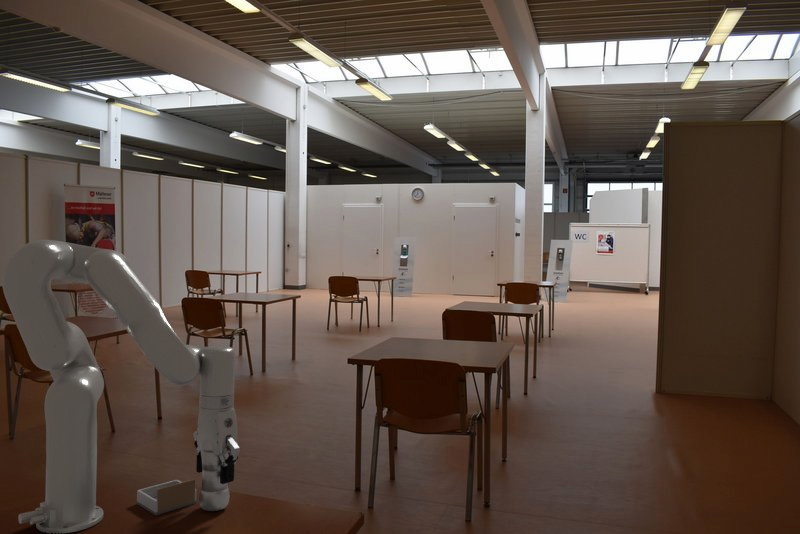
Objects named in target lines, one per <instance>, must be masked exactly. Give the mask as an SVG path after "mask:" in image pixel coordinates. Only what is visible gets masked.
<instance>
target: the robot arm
mask: <svg viewBox="0 0 800 534" xmlns="http://www.w3.org/2000/svg"><path fill="white" fill-rule="evenodd" d="M52 280H60V281H68V282H71V283H79V284H87V285H89V286H90V287H91V289H93V291H94V292H95V293H96V294H97V295H98V296H99V298H100V300H102V302H104V304H105V305H106V306H107V308H108V309H109V310H110V311H111V312H112V313H113V314H114V316H115V317H116V318H117V319H118V320H119V322H120V323H121V324H122V326H123V327H124V329H125V330H126V332H127V333H128V335H129V336H130V337H131V338H132V340H133V341H134V342H135V343H136V345H137V346H138V348H139V349H140V351H141V352H142V353H143V355H144V356H145V358H146V359H147V360H148V361H149V362H150V363H151V364H152V366H153V367H154V368H155V369H156V371H157V372H158V373H159V374H160V376H162V377H163V378H164V379H165V380H166V381H167V382H168V383H170V384H171V385H174V386H187V385H188V384H190V383H192V382H193V381H194V380H195V379H197V376H198V377H199V400H198V403H199V406H198V409H199V411H198V417H197V424H196V425H197V427H196V430H195V431H193V432H192V435H193V436H192V437H193V439H194V443H193V444H194V447H195V455H196V466H195V467H196V470H195V472H197V473H198V474H199V473H200V474H201V473H202V469H203V468H202V457H201V449H200V444H201V440H202V439H203V438H207V439H208V440H209V441H210V443H211V445H212V448H213V454H215V455H218V456H219V457H220V459H221V462H222V466H221V467H220V483H221V484H225V483H228V484H229V483H231V482H234V480H235V465H236V464H237V461H238V459H239V455H240V452H241V448H240V446H239V445H238V443H239V442H238V421H237V413H236V409H235V383H236V382H235V381H236V380H235V379H236V378H235V377H236V376H235V375H236V373H235V372H236V351H235V349H234V348H233V347H231V346H228V345H209V346H202V345H194V344H193V345H192V344H185V343H184V342H183V341H182V339H181V338H180V337H179V336H178V334H177V333H176V332H175V331H174V329H173V327H172V326H171V324H170V323H169V322H168V320H167V318H166V316H165V314H164V312H163V308H162V305H160V302H159V301H158V300H157V299H156V297H155V295H153V294H152V292H151V291H150V290H149V289H148V288H147V286H146V285H145V284H144V283H143V282H142V280H140V278H139V277H138V276H137V274H136V273H135V272H134V270H132V268H131V265H130V262H129V260H128V258H127V257H126V256H125V255H124V254H123V253H121V252H120V251H117V250H115V249H114V250H113V249H107V248H100V247H92V246H88V245H83V244H79V243H72V242H67V241H61V240H55V239H37V240H33V241H29V242H28V243H26V244H24V245H22V246H21V247H20V248H18V249H17V250H16V251H15V252H14V253H13V254H12V255H11V257H10V258H9V259H8V261H7V262H6V264H5V266H4V268H3V273H2V278H1V281H2V282H1V283H2V284H1V285H2V290H3V291H2V292H3V295H4V298H5V300H6V303H7V305H8V308H9V310H10V312H11V314H12V318H13V319H14V321H15V324H16V328H17V329H18V331H19V334H20V336H21V338H22V339H21V340H22V341H23V343H24V345H25V348H26V351H27V353H28V355H29V358H30V360H31V362H32V363H33V364H34V365H35V366H36V367H37V368H39V369H41V370H43V371H46V372H47V371H49V373H50V374H49V375H51V378H52V380H53V381H52V383H51V384H50V386H49V388H48V389H47V392H46V395H45V398H44V416H45V429H46V430H45V431H46V432H45V433H46V434H45V435H46V436H45V438H46V440H45V453H46V459H45V460H46V461H45V498H44V499H45V501H41V502H40V503H39V507H37V508H35V510H32V511H26V512H22V513H19V514H18V516H17V517H18V518H17V519H18V523H19V524H21V525H22V524H25V523H29V524H30V525H34V524H35V528H36V529H37V530H38V531H40V532H42V533H45V532H46V533H45V534H51V533H53V534H55V533H56V534H58V533H59V534H61V533H62V534H70V533H74V532H80V531H83V530H86V529H89V528H92V527H93V526H96V525H97V524H98V523H100V522H101V521H102V520H103V518H104V509H102V507H100V506H99V505H96V503H97V465H98V463H97V461H98V460H97V458H98V453H97V452H98V419H97V414H98V413H97V410H98V409H97V407H98V402H99V401H100V398H101V396H102V395H103V393H104V389H105V380H104V377H103V374H102V371H101V369H100V366H99V364H98V362H97V359H96V357H95V355H94V352H93V350H92V348H91V346H90V343H89V341H88V339H87V336H86V334H85V333H84V332H83V330H82V329H81V328H80V327H79V326H78V325H76V324H75V323H73V322H70V321H67V320H66V317H65V316H64V313H63V312H62V309H61V306H60V303H59V301H58V299H57V297H56V296H55V294H54V291H53V290H52V287H51V283H52ZM224 449H227V451H222V450H224ZM225 455H229V456H228V458H227V459H226V458H225Z"/></svg>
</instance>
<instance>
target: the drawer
mask: <svg viewBox="0 0 800 534" xmlns="http://www.w3.org/2000/svg"><path fill="white" fill-rule="evenodd" d="M197 490H198V489H197V488H196V479H195V478H193V479H188V480H185V481H181V480H179V479H174V480H171V481H167V482H162V483H160V484H155V485H152V486H148V487H145V488H141V489H137V491H136V505H137V506H140V507H141V508H143V509H144V510H146V511H148V512H149V513H151V514H153V515H155V516H158V515H161V514H165V513H168V512H171V511H175V510H179V509H181V508H185V507H188V506H191V505H194V504H197V496H198V495H197V492H198V491H197Z"/></svg>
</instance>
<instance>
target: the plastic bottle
mask: <svg viewBox="0 0 800 534" xmlns="http://www.w3.org/2000/svg"><path fill="white" fill-rule="evenodd" d="M200 449H201V457H202V468H203V469H202V472H201V473H202V476H201V486H200V490H199V494H198V501H199V506H200V507H201V509H202V510H203V511H207V512H216V511H217V512H218V511H220V510H223V509H225V508H226V507H227V506H228V505H229V502H230V498H231V497H230V489H229V487H228V486H229V485H228V484H229V483H225V484H221V483H220V467H221V466H222V462H221V459H220V457H219V456H218V455H215V454H213V448H212V445H211V443H210V441H209V440H208V439H207V438H203V439H202V440H201V444H200ZM222 451H227V449H224V450H222ZM228 457H229V455H225V458H226V459H227V458H228Z"/></svg>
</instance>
